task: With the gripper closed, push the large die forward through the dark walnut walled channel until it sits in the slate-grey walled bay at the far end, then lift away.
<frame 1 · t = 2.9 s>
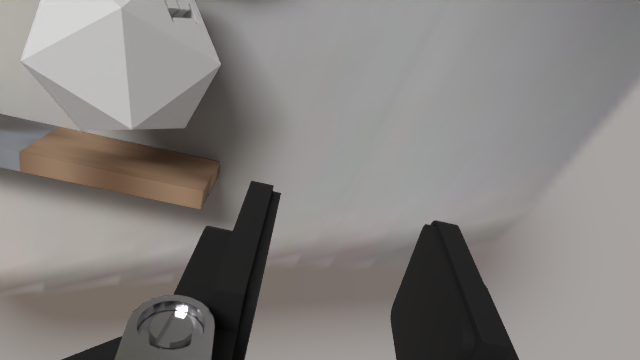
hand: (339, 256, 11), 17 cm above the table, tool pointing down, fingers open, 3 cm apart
channel: (74, 18, 26), on the table
die: (156, 36, 26), on the table
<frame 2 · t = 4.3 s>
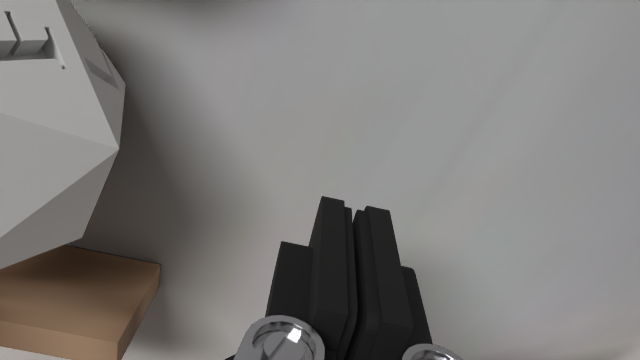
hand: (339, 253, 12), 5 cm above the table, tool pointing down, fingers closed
die: (39, 72, 15), on the table
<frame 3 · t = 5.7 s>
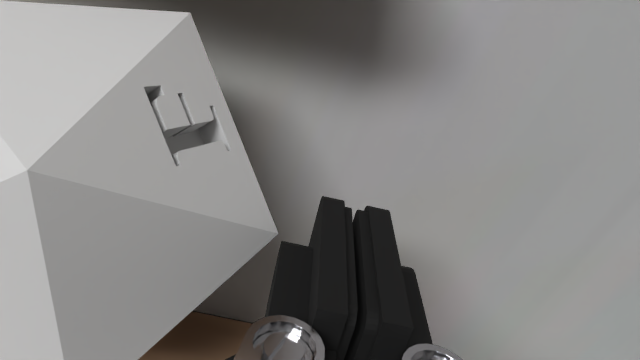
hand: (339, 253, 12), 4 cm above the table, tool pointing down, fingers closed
channel: (27, 105, 14), on the table
die: (144, 129, 14), on the table, touching gripper
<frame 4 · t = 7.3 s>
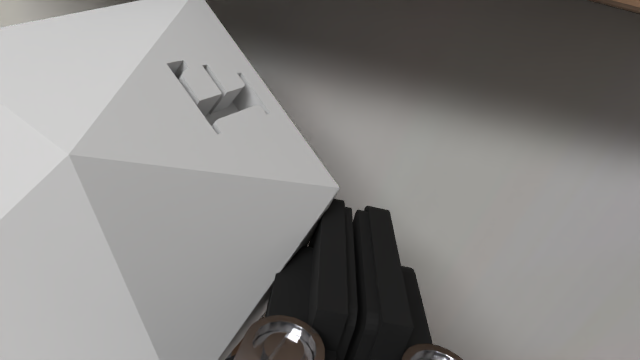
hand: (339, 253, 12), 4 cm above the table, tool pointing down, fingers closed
channel: (301, 174, 15), on the table
die: (188, 135, 14), on the table, touching gripper
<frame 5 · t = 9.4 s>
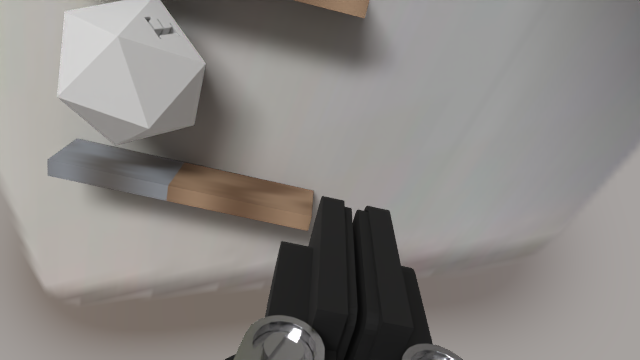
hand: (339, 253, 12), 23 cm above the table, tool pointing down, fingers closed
channel: (209, 78, 32), on the table
die: (156, 59, 32), on the table
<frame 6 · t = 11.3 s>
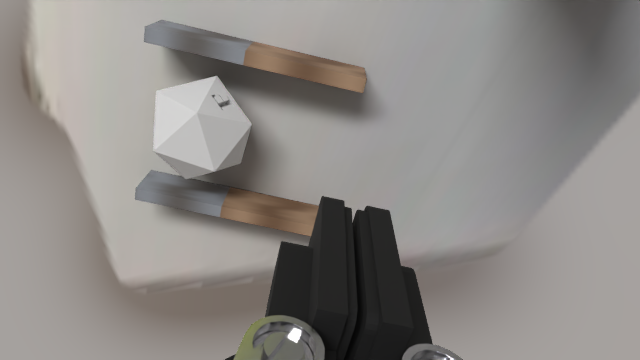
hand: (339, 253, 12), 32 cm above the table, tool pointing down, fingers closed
channel: (250, 127, 44), on the table
die: (212, 114, 44), on the table
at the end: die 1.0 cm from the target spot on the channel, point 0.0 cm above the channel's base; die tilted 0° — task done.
